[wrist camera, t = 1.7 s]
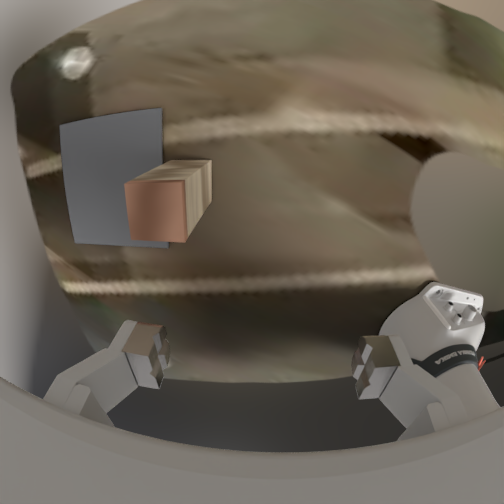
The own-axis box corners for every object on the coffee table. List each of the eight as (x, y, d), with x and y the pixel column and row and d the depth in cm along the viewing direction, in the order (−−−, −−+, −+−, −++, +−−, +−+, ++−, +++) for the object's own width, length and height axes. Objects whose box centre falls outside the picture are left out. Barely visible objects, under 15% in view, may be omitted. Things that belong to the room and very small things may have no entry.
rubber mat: (162, 107, 28) (161, 108, 28) (169, 246, 36) (168, 248, 36) (61, 124, 29) (59, 125, 29) (76, 242, 37) (75, 243, 37)
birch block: (211, 159, 31) (181, 182, 20) (211, 200, 33) (184, 242, 23) (170, 160, 31) (124, 183, 21) (172, 199, 34) (131, 239, 23)
